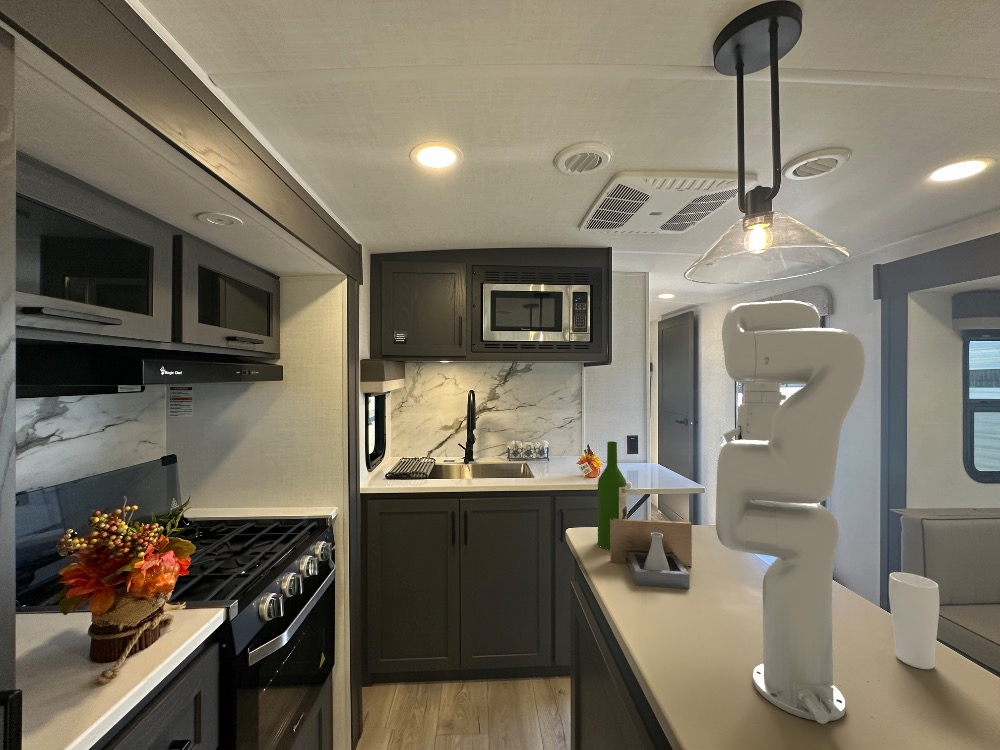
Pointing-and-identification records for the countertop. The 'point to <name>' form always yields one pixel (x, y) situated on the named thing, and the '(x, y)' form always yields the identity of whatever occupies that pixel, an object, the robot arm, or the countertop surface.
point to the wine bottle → (610, 496)
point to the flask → (656, 555)
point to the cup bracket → (634, 546)
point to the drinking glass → (914, 618)
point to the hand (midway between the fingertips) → (762, 469)
